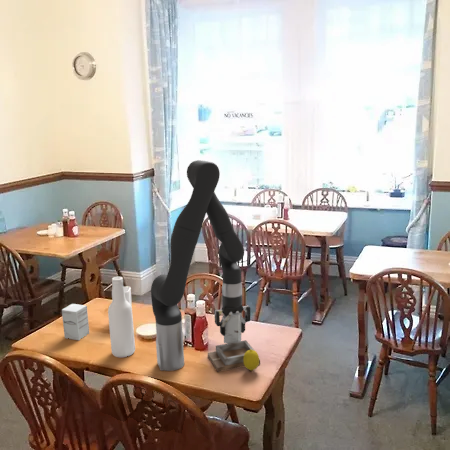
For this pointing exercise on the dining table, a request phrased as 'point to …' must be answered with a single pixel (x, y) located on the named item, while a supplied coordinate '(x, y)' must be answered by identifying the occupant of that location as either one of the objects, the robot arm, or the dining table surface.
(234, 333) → the skincare box
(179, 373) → the dining table surface
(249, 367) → the lemon
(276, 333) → the dining table surface
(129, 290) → the cup
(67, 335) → the supplement box
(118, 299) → the alcohol
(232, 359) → the grey open rectangular piece
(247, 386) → the dining table surface
